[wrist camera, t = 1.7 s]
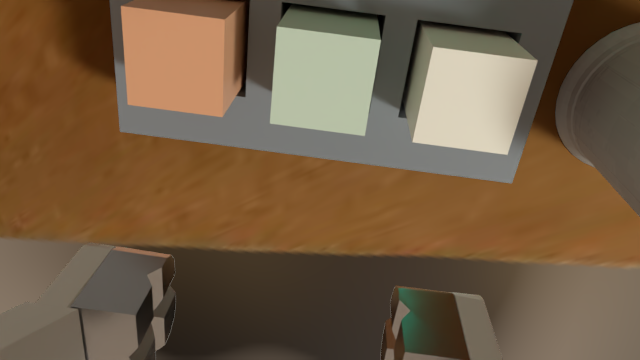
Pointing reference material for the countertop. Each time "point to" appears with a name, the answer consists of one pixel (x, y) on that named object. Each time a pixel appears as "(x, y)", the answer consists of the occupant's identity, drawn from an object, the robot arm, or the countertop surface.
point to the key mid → (324, 69)
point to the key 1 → (185, 53)
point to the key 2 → (465, 87)
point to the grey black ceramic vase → (606, 110)
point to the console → (386, 101)
